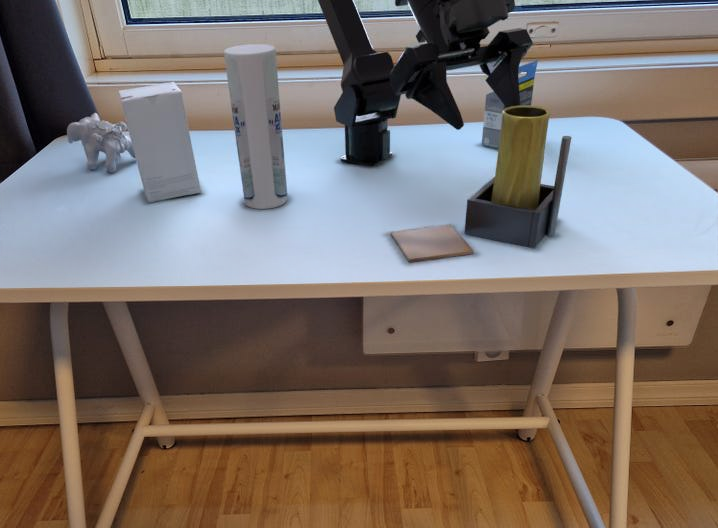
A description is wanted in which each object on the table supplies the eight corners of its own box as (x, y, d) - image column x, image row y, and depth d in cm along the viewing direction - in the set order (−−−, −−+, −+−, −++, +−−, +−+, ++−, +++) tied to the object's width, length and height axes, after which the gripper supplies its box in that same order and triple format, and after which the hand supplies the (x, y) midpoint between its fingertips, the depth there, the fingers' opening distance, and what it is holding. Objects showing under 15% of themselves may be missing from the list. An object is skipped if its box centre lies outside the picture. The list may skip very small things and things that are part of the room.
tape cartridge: (508, 132, 113) (517, 57, 105) (528, 136, 110) (538, 59, 103) (480, 145, 108) (487, 67, 100) (500, 150, 105) (509, 70, 98)
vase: (481, 219, 83) (492, 106, 75) (526, 216, 84) (543, 102, 75) (494, 239, 78) (508, 120, 70) (543, 235, 79) (562, 116, 70)
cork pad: (390, 234, 81) (390, 231, 81) (450, 226, 82) (450, 223, 82) (408, 262, 74) (409, 259, 74) (473, 253, 76) (473, 250, 75)
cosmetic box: (195, 181, 99) (177, 80, 90) (202, 194, 95) (184, 89, 86) (140, 190, 97) (117, 87, 88) (145, 204, 92) (120, 97, 84)
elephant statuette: (126, 174, 103) (114, 126, 99) (56, 175, 104) (41, 127, 100) (145, 155, 111) (135, 109, 106) (79, 156, 112) (66, 111, 107)
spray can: (244, 193, 94) (224, 45, 82) (288, 190, 94) (274, 42, 83) (243, 211, 89) (222, 55, 77) (289, 207, 89) (275, 52, 77)
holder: (464, 233, 80) (472, 137, 73) (490, 208, 86) (500, 117, 79) (542, 250, 75) (559, 149, 68) (564, 222, 82) (582, 126, 74)
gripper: (405, -35, 68) (465, 92, 67) (532, -48, 76) (588, 66, 74) (366, 37, 78) (417, 149, 77) (481, 19, 86) (530, 121, 84)
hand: (490, 120), depth 78 cm, fingers open, 9 cm apart
